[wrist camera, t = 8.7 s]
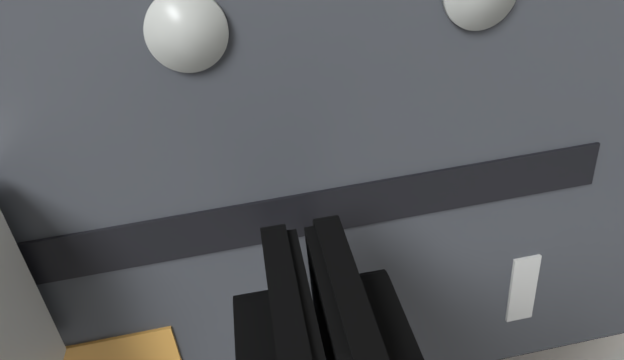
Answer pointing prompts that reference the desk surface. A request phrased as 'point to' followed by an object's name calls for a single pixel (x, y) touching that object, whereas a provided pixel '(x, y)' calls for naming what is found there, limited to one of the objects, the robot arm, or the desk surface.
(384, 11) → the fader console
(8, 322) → the fader
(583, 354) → the desk surface
